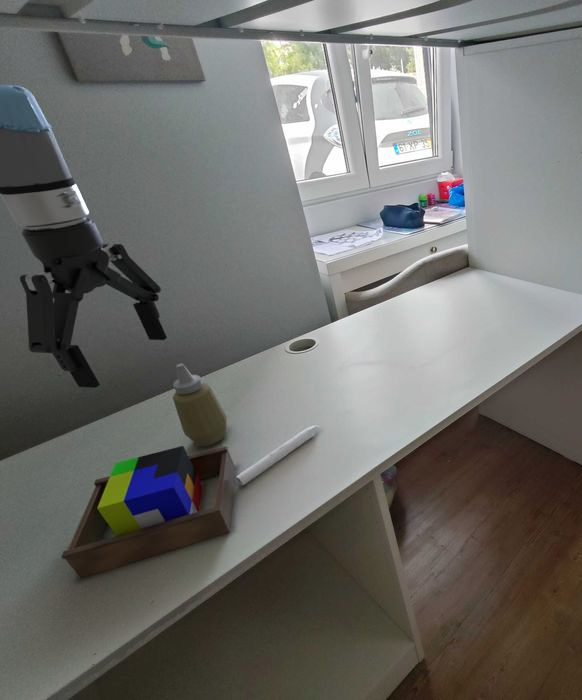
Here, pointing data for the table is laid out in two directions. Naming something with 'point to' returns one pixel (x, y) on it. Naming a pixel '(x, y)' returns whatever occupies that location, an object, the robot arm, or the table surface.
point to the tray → (136, 545)
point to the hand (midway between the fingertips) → (126, 360)
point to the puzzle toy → (150, 491)
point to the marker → (276, 455)
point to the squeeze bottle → (198, 409)
